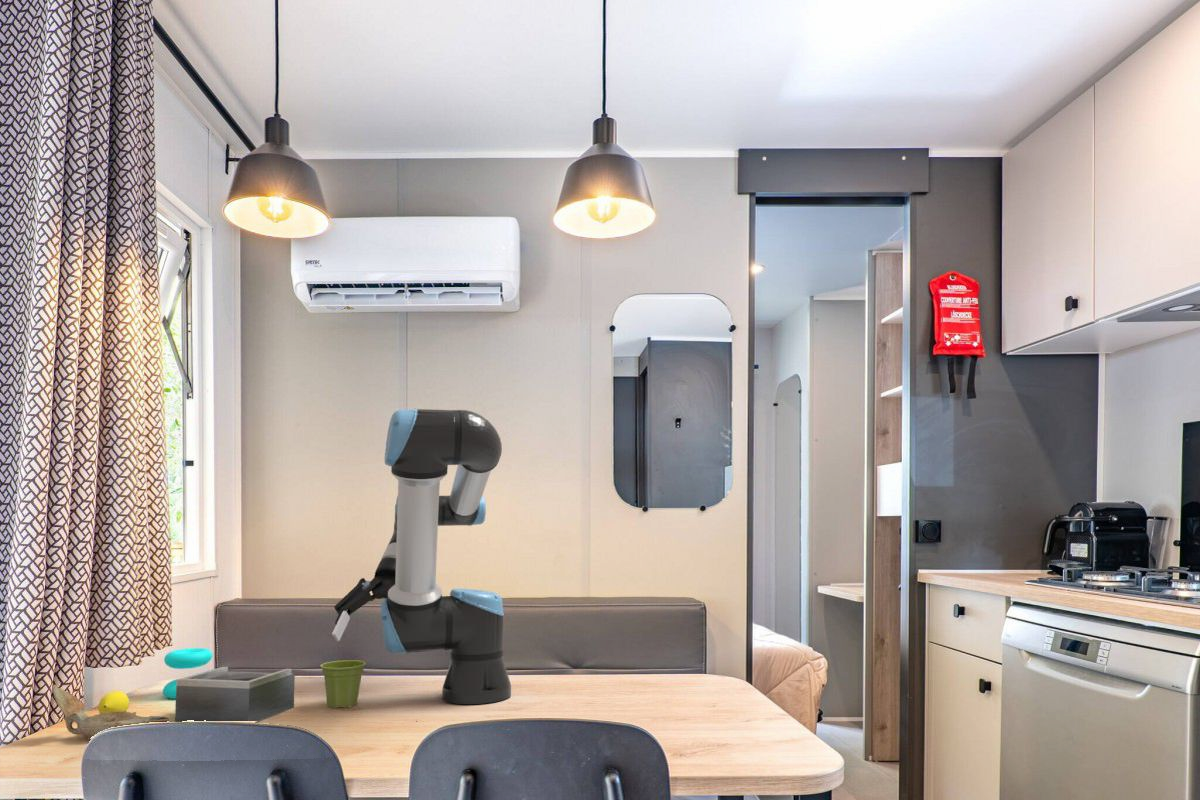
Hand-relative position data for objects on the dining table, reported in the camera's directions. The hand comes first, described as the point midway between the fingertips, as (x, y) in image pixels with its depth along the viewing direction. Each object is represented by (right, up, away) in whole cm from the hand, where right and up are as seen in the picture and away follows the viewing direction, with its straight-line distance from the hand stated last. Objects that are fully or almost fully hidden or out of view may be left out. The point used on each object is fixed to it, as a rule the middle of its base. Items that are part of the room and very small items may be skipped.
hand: (361, 638), depth 188 cm
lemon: (-46, -12, -17) cm, 51 cm away
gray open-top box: (-23, -11, -16) cm, 30 cm away
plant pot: (-1, -12, -10) cm, 15 cm away
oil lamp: (-39, -10, -32) cm, 51 cm away
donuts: (-41, -14, +3) cm, 44 cm away
